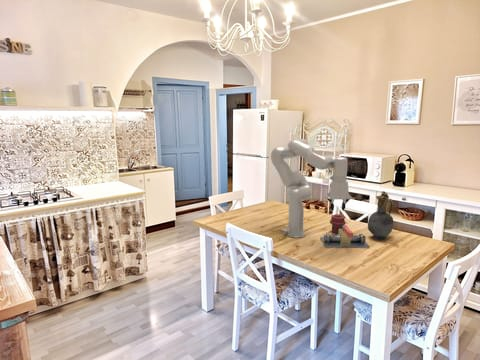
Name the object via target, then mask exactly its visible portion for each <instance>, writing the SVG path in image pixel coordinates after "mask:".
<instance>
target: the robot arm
mask: <svg viewBox="0 0 480 360" xmlns="http://www.w3.org/2000/svg"><path fill="white" fill-rule="evenodd" d="M298 156H299V157H301V158H302V159H305V161H306V163H308V165H310V166H312V167H313V168H316V169H318V170H321V171H323V170H328V169H329V170H330V169H332V175H331V176H330V177H329V180H331V181H330V183H329V184H330V185H329V190H328V191H329V192H328V193H327V194H326V195H325V196H324V198H325V199H326V200H327V201H328V202H329V204H330V208H329V209H331V211H334V208H335V203H334V202H335V200H342V203H341V210H342V211H343V212H344V211H345V210H346V206H347V203H348V202H350V201H351V200H352V199H353V197H352V195H351V194H350V193H349V191H350V190H349V182H348V181H347V176H348V158H347V157H345V156H337V155H331V154H330V155H323V156H322V155H319V154H317V153H315V148H314V147H313V146H312V145H311V144H309V142H308V140H306V139H304V138H297V139H295V138H294V139H291V140H290V141H288V143H287V145H283V146H282V145H281V146H280V145H279V146H277V147H274V148H273V149H272V151H271V154H270V160H271V163H272V165H273V166H274V168H275V169H276V171H277V173H278V175H279V177H280V179H281V182H282V184H283V185H284V187H286V188H291V189H289V190H288V192H287V200H288V226H287V227H285V228H284V227H281V228H280V229H281V232H283V233H285V235H286V236H287V237H289V238H295V239H299V238H304V237H305V236H306V232H305V231H304V213H305V211H304V210H305V208H304V204H303V201H308V200H310V199H311V198H312V196H313V190H312V188H311V186H310V184H309V182H308V180H307V179H306V177H305V175H304V174H303V173H302V172H301V171H293V170H292V169H291V166H290V165H289V164H288V162H286V161H285V160H287V159H293V158H296V157H298Z"/></svg>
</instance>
